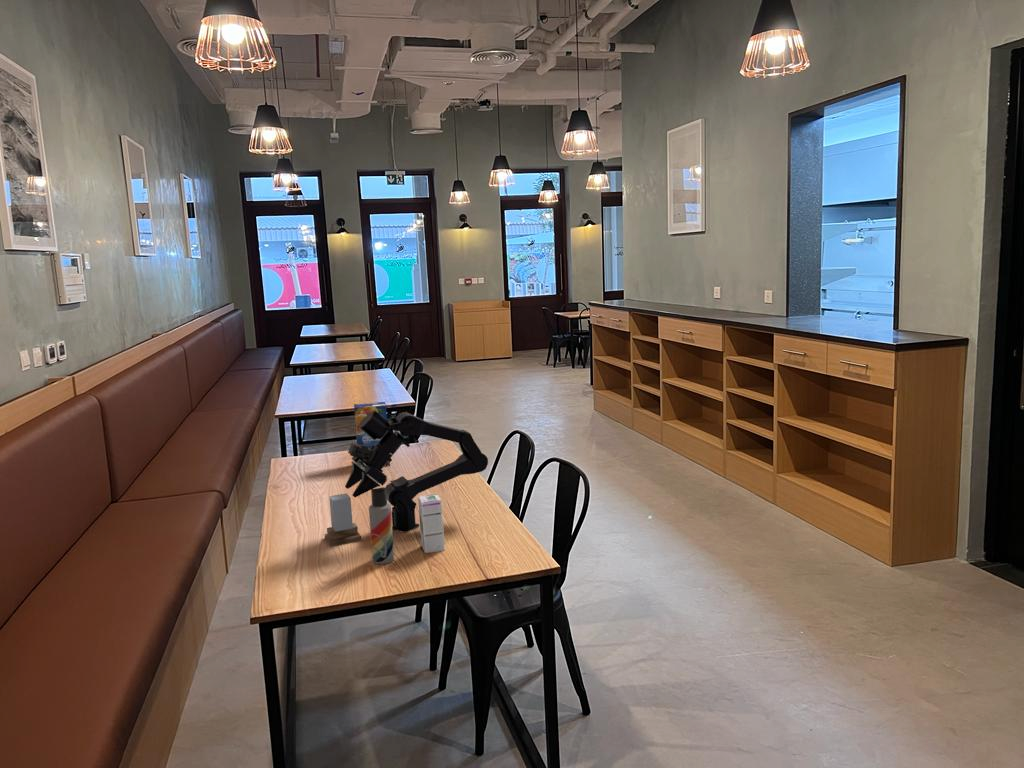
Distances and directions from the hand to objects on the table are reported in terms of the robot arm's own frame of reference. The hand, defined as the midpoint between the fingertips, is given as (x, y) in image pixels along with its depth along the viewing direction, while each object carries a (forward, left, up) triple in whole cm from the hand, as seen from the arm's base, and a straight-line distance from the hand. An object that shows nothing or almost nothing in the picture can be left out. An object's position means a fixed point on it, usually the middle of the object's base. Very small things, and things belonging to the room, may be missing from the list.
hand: (349, 492), depth 213 cm
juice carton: (+51, -59, -14) cm, 80 cm away
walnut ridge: (+1, +3, -14) cm, 14 cm away
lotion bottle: (-20, +8, -14) cm, 25 cm away
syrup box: (-26, -5, -14) cm, 30 cm away
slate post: (+1, +2, -10) cm, 10 cm away
